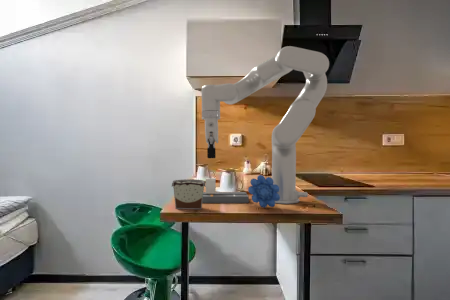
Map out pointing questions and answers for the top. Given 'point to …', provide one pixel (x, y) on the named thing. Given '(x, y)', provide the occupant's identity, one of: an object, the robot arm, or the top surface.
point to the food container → (188, 193)
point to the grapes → (264, 191)
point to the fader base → (226, 197)
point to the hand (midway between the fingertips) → (211, 157)
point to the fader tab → (210, 186)
